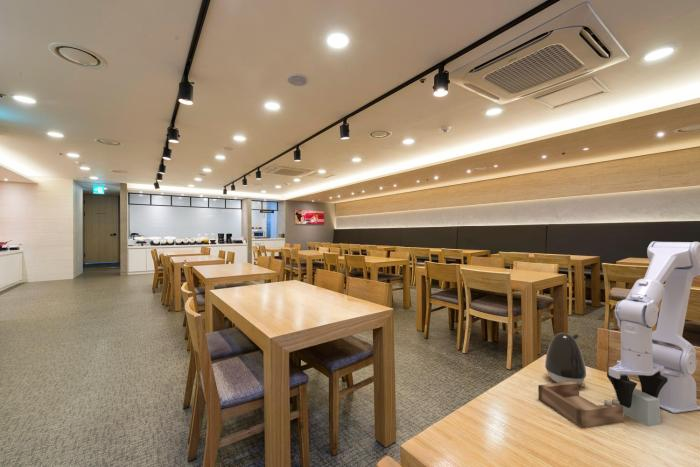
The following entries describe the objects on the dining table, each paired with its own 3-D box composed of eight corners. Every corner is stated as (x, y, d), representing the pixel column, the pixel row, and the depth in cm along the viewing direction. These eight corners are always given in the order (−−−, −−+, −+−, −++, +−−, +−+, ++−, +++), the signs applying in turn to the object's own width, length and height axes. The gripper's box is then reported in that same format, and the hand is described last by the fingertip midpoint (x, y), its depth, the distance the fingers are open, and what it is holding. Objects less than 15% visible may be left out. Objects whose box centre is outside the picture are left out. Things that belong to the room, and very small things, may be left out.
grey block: (629, 408, 77) (629, 384, 78) (662, 424, 71) (661, 399, 71) (616, 409, 77) (616, 386, 77) (648, 426, 70) (647, 400, 70)
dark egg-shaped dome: (595, 388, 87) (594, 336, 88) (568, 393, 85) (567, 340, 85) (562, 373, 97) (562, 326, 97) (537, 377, 94) (536, 329, 95)
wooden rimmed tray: (575, 395, 83) (574, 377, 83) (623, 422, 71) (623, 401, 71) (538, 399, 81) (538, 381, 81) (582, 428, 69) (581, 407, 69)
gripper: (640, 341, 79) (641, 393, 79) (596, 345, 76) (596, 398, 76) (674, 351, 72) (675, 407, 72) (626, 355, 69) (627, 414, 69)
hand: (637, 404), depth 74 cm, fingers open, 7 cm apart
